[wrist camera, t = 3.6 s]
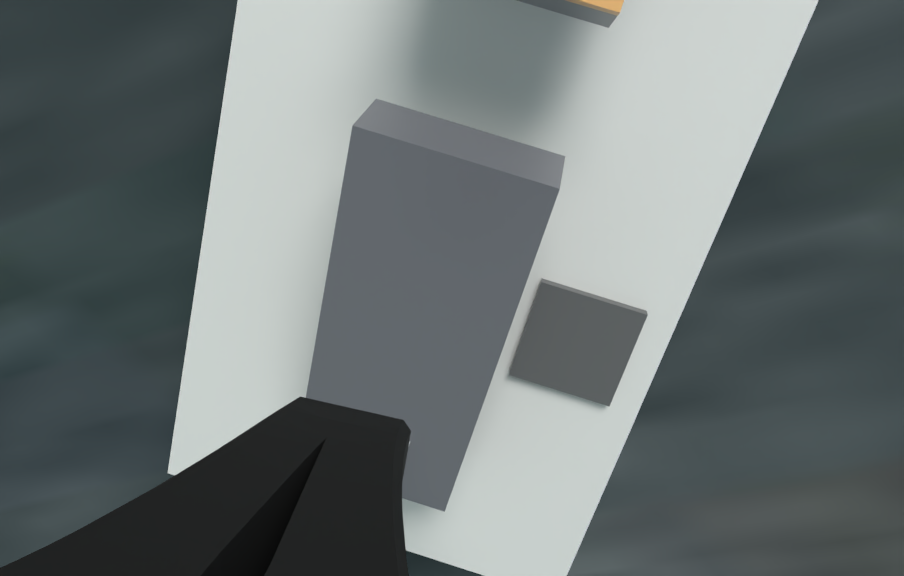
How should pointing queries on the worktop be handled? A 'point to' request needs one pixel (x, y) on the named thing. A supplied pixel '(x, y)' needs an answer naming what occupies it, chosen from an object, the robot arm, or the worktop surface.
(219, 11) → the worktop surface
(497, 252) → the grey block
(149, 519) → the robot arm
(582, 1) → the orange flat bar
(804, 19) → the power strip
